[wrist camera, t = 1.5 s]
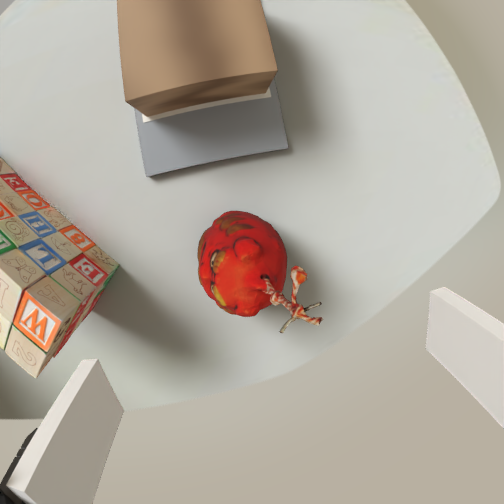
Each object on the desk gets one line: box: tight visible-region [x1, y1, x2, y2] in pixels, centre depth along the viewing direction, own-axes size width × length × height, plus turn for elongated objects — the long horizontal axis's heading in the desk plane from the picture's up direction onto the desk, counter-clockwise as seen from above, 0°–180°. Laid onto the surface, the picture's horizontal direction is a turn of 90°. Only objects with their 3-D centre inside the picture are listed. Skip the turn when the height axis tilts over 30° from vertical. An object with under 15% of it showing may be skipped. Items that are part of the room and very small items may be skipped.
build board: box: [134, 78, 288, 177], centre depth 22 cm, size 12×17×1 cm
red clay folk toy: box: [198, 211, 323, 333], centre depth 20 cm, size 8×7×15 cm
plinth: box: [117, 0, 278, 117], centre depth 19 cm, size 10×10×6 cm
